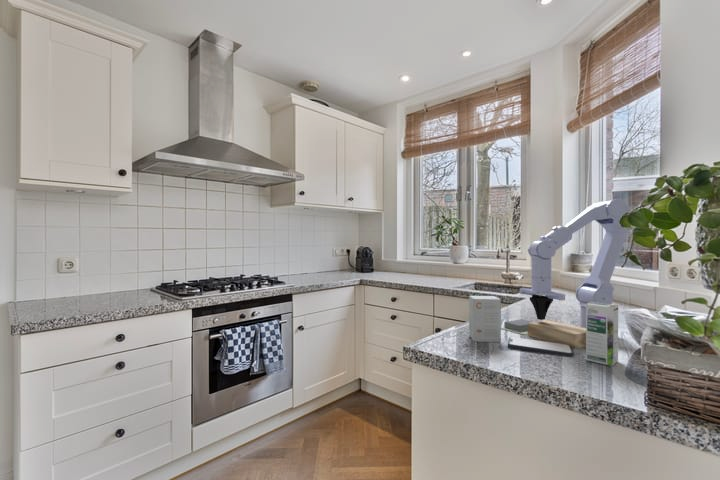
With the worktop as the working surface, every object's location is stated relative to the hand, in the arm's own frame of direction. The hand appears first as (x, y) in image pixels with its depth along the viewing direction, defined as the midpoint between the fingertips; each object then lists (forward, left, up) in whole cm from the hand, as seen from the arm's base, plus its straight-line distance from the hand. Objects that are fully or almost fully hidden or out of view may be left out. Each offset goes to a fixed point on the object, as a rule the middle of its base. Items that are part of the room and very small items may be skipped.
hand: (541, 319), depth 110 cm
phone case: (+14, +9, -6) cm, 17 cm away
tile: (0, -7, -3) cm, 8 cm away
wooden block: (0, +6, -5) cm, 8 cm away
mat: (0, -7, -5) cm, 8 cm away
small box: (+21, -4, -5) cm, 22 cm away
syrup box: (+9, +23, -5) cm, 25 cm away
